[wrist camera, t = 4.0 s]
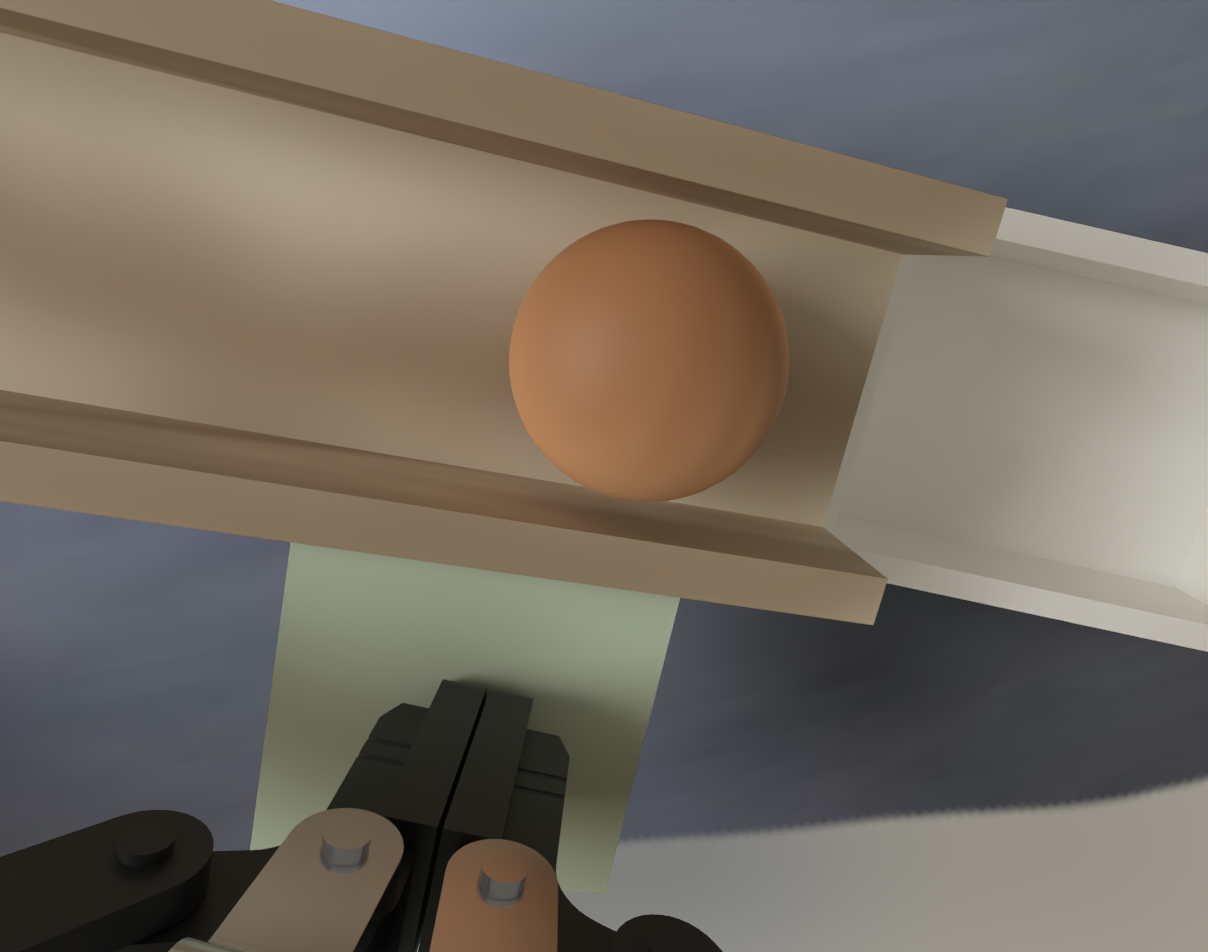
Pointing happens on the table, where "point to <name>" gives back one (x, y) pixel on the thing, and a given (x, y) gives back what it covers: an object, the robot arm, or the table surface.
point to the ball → (649, 360)
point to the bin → (1041, 431)
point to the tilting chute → (411, 358)
